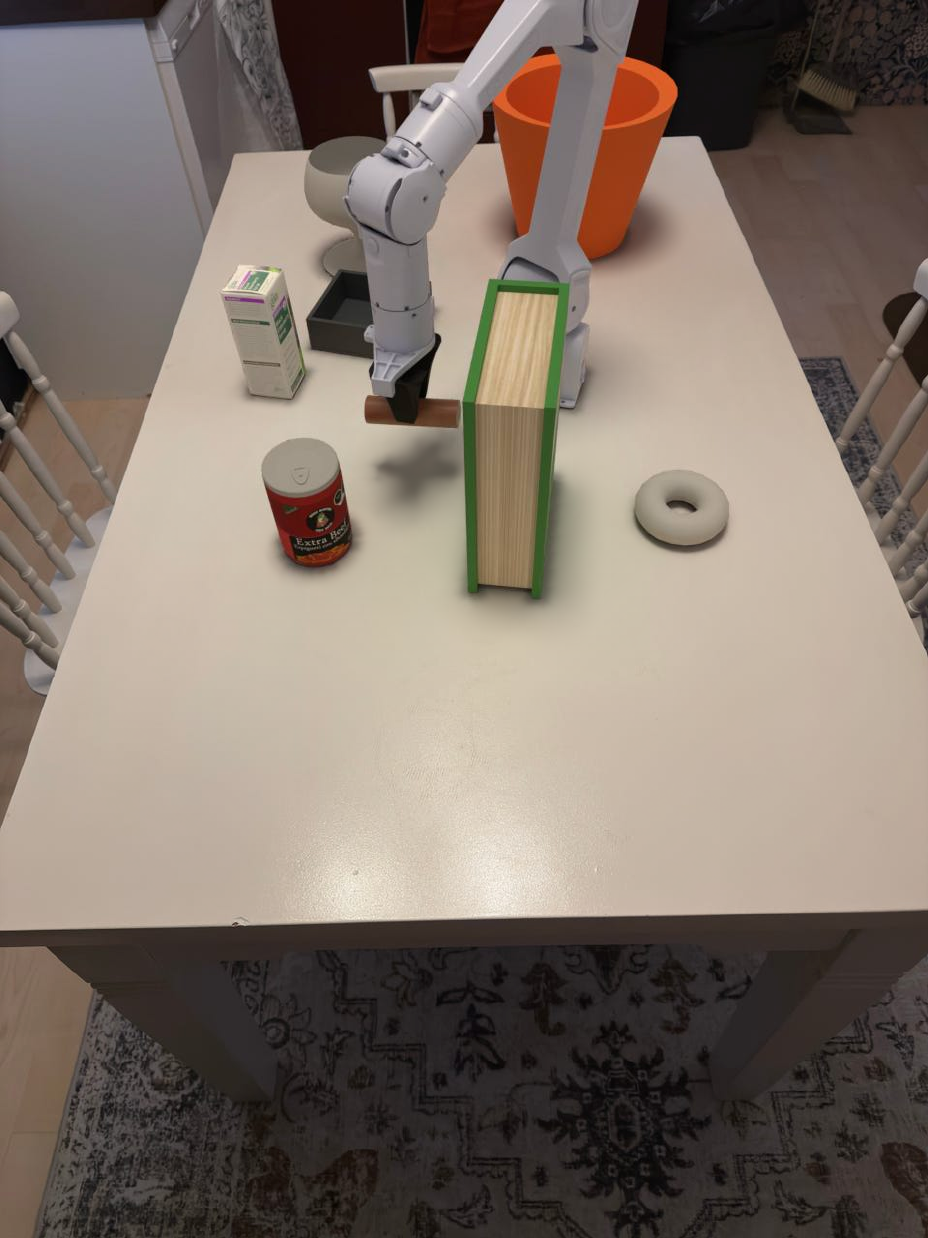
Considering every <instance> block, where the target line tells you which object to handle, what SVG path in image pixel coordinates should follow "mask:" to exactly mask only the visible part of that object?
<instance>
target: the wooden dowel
mask: <svg viewBox="0 0 928 1238" xmlns="http://www.w3.org/2000/svg"><path fill="white" fill-rule="evenodd" d="M363 408H364V409H363V412H364V413H363V414H364V420H365V423H366V424H369V425H385V426H387V425H388V426H403V427H404V426H405V427H421V428H437V429H439V428H440V429H457V430H458V429H459V427H460V425H461V417H462V416H461V415H462V414H461V413H462V403H461V400H460V399H452V398H451V399H450V398H449V399H448V398H433V397H431V398H429V397H426V398H419V400H418V413H417V418H416V421H415V423H414V424H409V423H403V422H397V421H396V419H395V417H394V415H393V413H392V411H391V408H390V406H389V404H388V402H387V400H386V398H385V397H384V396H379V395H373V394H372V395H371V394H368V395H366V397H365V400H364V407H363Z"/></svg>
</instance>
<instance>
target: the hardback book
mask: <svg viewBox="0 0 928 1238" xmlns="http://www.w3.org/2000/svg"><path fill="white" fill-rule="evenodd" d="M569 291H570V283H555V282H537V281H520V280H502V279H497V278H488V282H487V287H486V292H485V296H484V300H483V306H482V308H481V309H482V310H481V315H480V319H479V324H478V327H477V328H478V329H477V331H476V332H477V333H476V336H475V341H474V346H473V351H472V355H471V360H470V364H469V368H468V373H467V378H466V382H465V387H464V392H463V396H462V401H461V412H462V437H463V438H462V441H463V475H464V509H465V538H466V539H465V541H466V542H465V543H466V544H465V545H466V574H467V575H466V577H467V592H468V593H474V594H476V593H478V588H479V585H489V586H501V587H509V588H522V589H531V593H530V594H531V595H530V598H531V599H538V600H540V599H541V596H542V586H543V577H544V568H545V560H546V559H545V558H546V550H547V540H548V533H549V532H548V530H549V521H550V513H551V512H550V511H551V505H552V503H551V502H552V494H553V485H554V477H555V476H554V475H555V463H556V452H557V441H558V439H557V438H558V428H559V419H560V418H559V417H560V395H561V383H562V372H563V360H564V348H565V337H566V325H567V314H568V302H569Z"/></svg>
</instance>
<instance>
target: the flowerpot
mask: <svg viewBox="0 0 928 1238" xmlns="http://www.w3.org/2000/svg"><path fill="white" fill-rule="evenodd" d="M561 69H562V66H561V63H560V61H559V59H558V57H557V55H556V53H551V54H544V55H539V56H533V57H531V58H530V59H529V60H528V61H527V63H526V64H525V65H524V66H523V67H522V68H521V69H520V70H519V72H518V73H517V74H516V75H515V76H514V77H513V78H512V79H511V81H510V82H509V83H508V84H507V85H506V86H505V87H504V88H503V90H502V91H501V92H500V93H499V94H498V95H497V96H496V98H495V99H494V100H493V101H492V102H491V105H492V106H491V107H492V111H493V116H494V121H495V126H496V131H497V134H498V135H497V136H498V140H499V147H500V150H501V156H502V160H503V166H504V170H505V171H504V172H505V177H506V182H507V185H508V191H509V195H510V196H509V197H510V201H511V206H512V210H513V216H514V220H515V225H516V230H517V236H518V238H519V237H521V236H523V235H525V234H527V233H529V229H530V224H531V219H532V214H533V209H534V204H535V199H536V194H537V189H538V184H539V179H540V174H541V169H542V164H543V159H544V154H545V149H546V144H547V139H548V134H549V129H550V124H551V119H552V114H553V109H554V104H555V99H556V94H557V89H558V84H559V79H560V74H561ZM678 95H679V94H678V87H677V85H676V83H675V81H674V79H673V78H672V77H670V75H669V74H667V72H666V71H663V70H662V69H660V68H659V67H657V66H656V65H652V64H650V63H648V62H646V61H643V60H639V59H636V58H632V57H629V56H625V59H624V61H623V63H621V64H618V68H617V72H616V77H615V81H614V85H613V89H612V93H611V98H610V102H609V106H608V110H607V114H606V119H605V123H604V127H603V131H602V135H601V139H600V144H599V148H598V152H597V156H596V160H595V165H594V169H593V173H592V177H591V181H590V186H589V190H588V194H587V198H586V202H585V207H584V211H583V215H582V219H581V223H580V228H579V232H578V236H577V241H578V243H579V245H580V247H581V249H582V250H583V252H584V254H585V255H586V257H587V259H588V260H589V261H590V260H595V259H598V258H601V257H605V256H606V255H609V254H611V253H612V252H614V251H616V250H617V249H618V248H619V247H620V246H621V244H622V243H623V241H624V238H625V235H626V233H627V230H628V228H629V225H630V222H631V220H632V217H633V214H634V212H635V209H636V207H637V203H638V200H639V198H640V195H641V193H642V190H643V189H644V185H645V182H646V180H647V177H648V176H649V175H648V174H649V172H650V169H651V167H652V164H653V162H654V159H655V156H656V153H657V151H658V148H659V145H660V143H661V141H662V138H663V135H664V133H665V130H666V127H667V125H668V122H669V119H670V117H671V114H672V111H673V109H674V106H675V104H676V101H677V98H678Z"/></svg>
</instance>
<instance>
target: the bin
mask: <svg viewBox="0 0 928 1238" xmlns="http://www.w3.org/2000/svg"><path fill="white" fill-rule="evenodd" d="M429 281H430V295H431V296H433V290H432V281H431V280H429ZM305 323H306V328H307V333H308V338H309V343H310V348H311V350H314V351H315V350H316V351H323V352H328V353H334V354H335V353H336V354H341V355H346V356H347V355H348V356H353V357H360V358H366V359H373V360H374V344H373V343H371V342H367V341H365V339H364V333H365V331H366V329H367V328H368V326H370V325H374V323H373V315H372V307H371V299H370V292H369V284H368V276H367V273H365V272H358V271H351V270H343V269H339V270H338V272H337V273H336V275H335V276H333V277H332V279H331V280H330V282H329V283H328V285H327V286H326V288H325V289H324V290H323V292H322V293H321V296H320V297H319V298H318V300H317V301H316V302H315V304H314V306H313V307H312V308H311V310H310V311H309V313H308V314H307V316H306V317H305Z"/></svg>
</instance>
